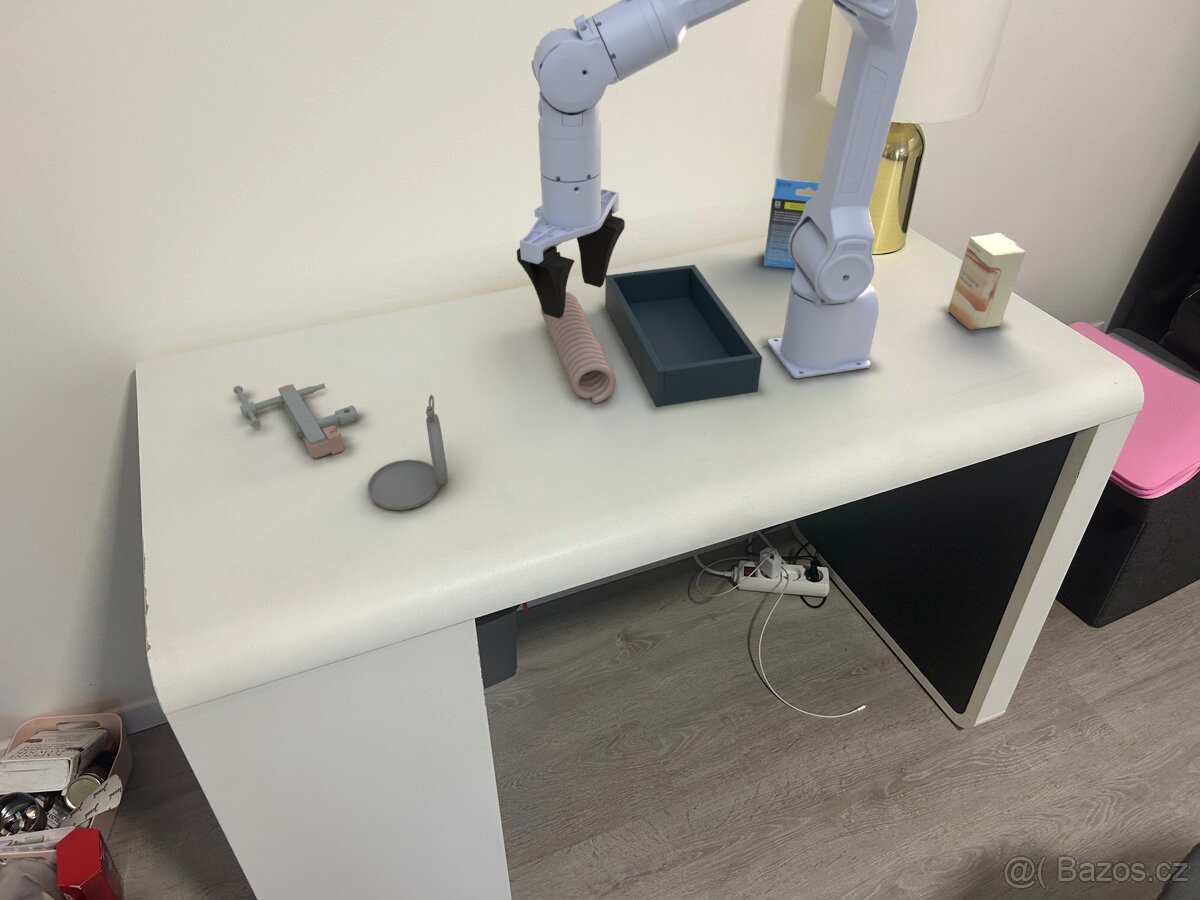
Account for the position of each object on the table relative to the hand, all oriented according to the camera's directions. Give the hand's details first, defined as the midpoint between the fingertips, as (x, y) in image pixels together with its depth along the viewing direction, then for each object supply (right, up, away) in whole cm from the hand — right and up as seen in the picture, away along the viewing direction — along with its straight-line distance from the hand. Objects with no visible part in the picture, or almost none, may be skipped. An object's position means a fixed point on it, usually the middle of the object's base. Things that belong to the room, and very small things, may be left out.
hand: (573, 299), depth 89 cm
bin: (+12, -4, +11) cm, 16 cm away
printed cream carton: (+49, 0, +16) cm, 51 cm away
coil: (0, -6, +9) cm, 11 cm away
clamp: (-29, -13, 0) cm, 31 cm away
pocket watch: (-15, -20, -8) cm, 26 cm away
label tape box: (+30, +9, +27) cm, 41 cm away
